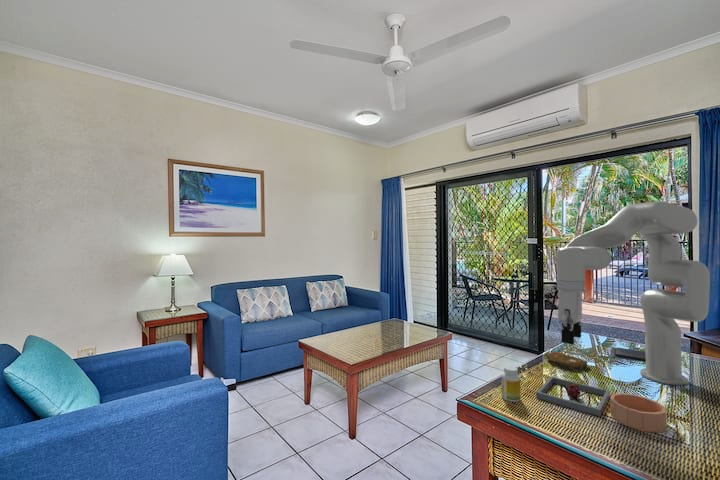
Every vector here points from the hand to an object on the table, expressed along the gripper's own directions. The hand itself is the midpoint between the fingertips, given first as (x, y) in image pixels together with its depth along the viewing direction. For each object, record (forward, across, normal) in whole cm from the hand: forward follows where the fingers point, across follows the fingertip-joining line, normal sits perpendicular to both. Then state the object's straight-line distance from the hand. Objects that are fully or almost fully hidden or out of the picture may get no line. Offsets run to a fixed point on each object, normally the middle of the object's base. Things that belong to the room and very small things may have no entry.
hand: (571, 339), depth 105 cm
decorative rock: (+18, -30, -9) cm, 36 cm away
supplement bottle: (+18, +14, -14) cm, 27 cm away
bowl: (+18, +4, +16) cm, 25 cm away
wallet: (+19, -61, +12) cm, 65 cm away
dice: (+18, 0, 0) cm, 18 cm away
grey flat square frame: (+18, 0, 0) cm, 18 cm away
